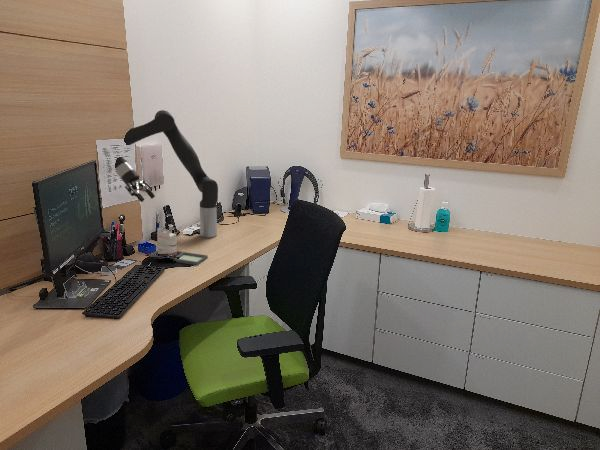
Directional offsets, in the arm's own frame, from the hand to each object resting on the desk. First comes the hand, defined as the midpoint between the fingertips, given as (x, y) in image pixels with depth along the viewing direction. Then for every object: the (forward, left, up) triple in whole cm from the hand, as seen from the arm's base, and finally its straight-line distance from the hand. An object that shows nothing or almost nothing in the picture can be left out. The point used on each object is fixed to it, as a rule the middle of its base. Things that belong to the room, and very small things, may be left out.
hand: (148, 199), depth 215 cm
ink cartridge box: (+4, +12, -27) cm, 30 cm away
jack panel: (+4, +18, -27) cm, 33 cm away
